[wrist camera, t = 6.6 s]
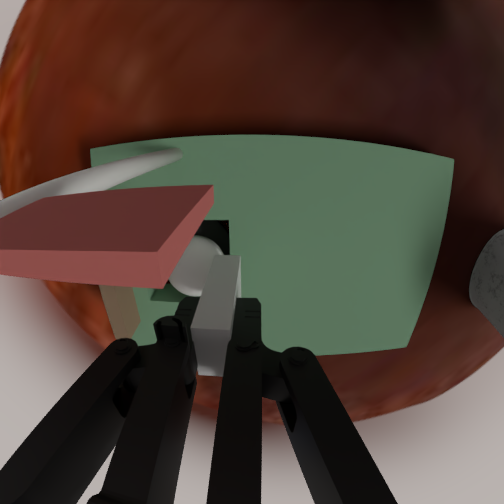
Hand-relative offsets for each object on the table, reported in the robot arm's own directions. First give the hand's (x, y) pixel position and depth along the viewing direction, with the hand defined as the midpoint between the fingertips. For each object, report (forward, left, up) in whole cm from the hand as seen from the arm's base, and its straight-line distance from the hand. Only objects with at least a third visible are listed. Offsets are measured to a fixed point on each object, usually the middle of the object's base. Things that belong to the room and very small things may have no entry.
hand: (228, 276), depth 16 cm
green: (0, +3, -4) cm, 5 cm away
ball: (0, -2, -2) cm, 3 cm away
